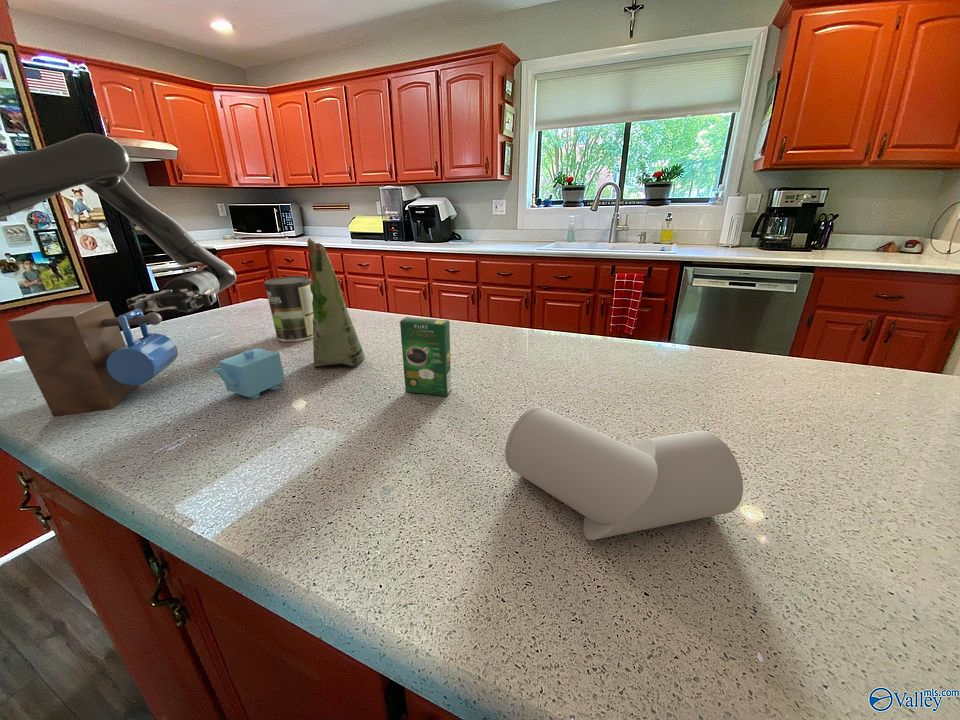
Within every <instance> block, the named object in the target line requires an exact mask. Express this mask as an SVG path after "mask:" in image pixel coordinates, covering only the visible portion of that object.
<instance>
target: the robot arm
mask: <svg viewBox="0 0 960 720" xmlns="http://www.w3.org/2000/svg"><path fill="white" fill-rule="evenodd" d="M129 169H130V156H129V154H128V151H127V150H126V149H125V147H123V146H122V144H120V143H119V142H118V141H116V140H114V139H113V138H111V137H109V136H107V135H104V134H99V133H93V132H90V133H89V132H86V133H81V134H78V135H75V136H73V137H70V138H67V139H65V140H62V141H59V142H57V143H53V144H51V145H48V146H45V147H42V148H39V149H34V150H30V151H26V152H25V151H24V152H18V153H12V154H6V155H1V156H0V219H4V218H7V217H11V216H14V215H15V214H18V213H20V212H23V211H26V210H28V209H30V208H33V207H35V206H36V205H38V204H41V203H42V202H44V201H47V200H48V199H50V198H52V197H54V196H56V195H58V194H59V193H62V192H64V191H66V190H69V189H71V188H75V187H78V186H82V185H84V186H86V187H87V188H88V189H89V190H91V191H92V192H94V193H95V194H97V196H99V197H100V198H102V199H103V200H104V201H105V202H107V203H108V204H109V205H110V206H112V207H113V208H115V209H116V210H117V211H118V212H120V213H121V214H122V215H124V216H125V217H126V218H127V219H129V220H130V221H131V222H132V223H133V224H134V225H135V226H137V228H139V229H140V230H141V231H143V233H145V234H146V235H147V236H148V237H149V238H150V239H151V240H152V241H153V242H154V243H155V244H156V245H157V246H158V247H159V248H160V249H161V250H163V252H164V253H166V254H167V256H169V257H170V258H171V259H172V260H173V261H174V262H175V263H176V264H178V265H180V266H187V265H190V264H193V263H200V264H202V265H205V266H202V267H201V268H200V269H198V270H194V271H192V272H190V273H189V272H188V273H184V274H182V275H180V276H179V275H178V276H177V277H174V278H173V279H170V280H169V281H167V282H166V283H165V284H164V286H163V287H162V290H161V291H160V292H159V291H158V292H155V293H149V294H147V293H141V294H138V295H136V296H133V297H130V298H128V299H126V303H127V309H128V312H130V311H133V310H135V309H141V310H142V313H143V314H145V313H146V312H151V311H152V312H161V311H166V310H175V311H177V312H181V313H190V312H191V313H192V312H194V311H197V310H199V309H200V308H201V307H203V306H204V307H207V308H208V307H211V306H213V304H215V303H216V302H217V301H218V299H217V294H219V293H221V292H222V291H224V290H226V289H227V288H229V287H230V286H232V285H234V284H235V283H236V281H237V274H236V272H235V270H234V268H232V266H231V265H229V264H228V263H227V262H225V261H223V259H221V258H219V257H218V256H216V255H214V254H213V253H212V252H211V251H208V250H207V249H205V248H204V247H203V246H202V245H201V244H200V243H199V242H198V241H196V240H195V238H194V237H193V236H191V234H190V233H189V232H188V231H187V230H186V229H185V228H184V227H183V226H182V225H181V224H180V223H178V222H177V221H176V220H175V219H174V218H172V217H171V216H169V215H168V214H166V213H165V212H163V211H162V210H161V209H159V208H157V207H156V206H154V205H153V204H151V203H150V202H149V201H148V200H146V199H145V198H144V197H143V196H141V195H140V194H139V193H138V192H137V190H135V188H133V186H131V185H130V183H129V182H128V181H127V179H126V178H125V176H126V175H127V173H128V171H129Z"/></svg>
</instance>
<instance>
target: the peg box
mask: <svg viewBox="0 0 960 720" xmlns="http://www.w3.org/2000/svg"><path fill="white" fill-rule="evenodd" d="M162 320H163V317H162V315H160V313H158V312H156V311H152V312H151V311H150V312H149V313H147V314H143V316H135V317H133V318H131V319H128V320H127V321H128V324H129V326H133V325H139V324H145V323H146V324H148V325H152V326H157V325H160V324H161V323H162ZM6 324H7V326H8V328H9V329H10V331H11V334H12V336H13V338H14V340H15V342H16V344H17V346H18V348H19V350H20V351H21V354H22V356H23V357H24V360H25V362H26V364H27V366H28V369H29V370H30V373H31V374H32V377H33V378H34V380H35V382H36V385H37V386H38V389H39V391H40V393H41V394H42V397H43V399H44V400H45V403H46V405H47V407H48V408H49V411H50V413H51V415H52V417H59V416H65V415H66V416H67V415H74V414H81V413H82V414H83V413H90V412H98V411H104V410H112V409H113V408H115V407H116V406H117V405H119V403H121V401H123V400H124V399H125V398H126V397H127V396H128V395H130V394H131V393H132V392H134V390H136V389H137V388H138V387H139V386H140V385H126V384H123V383H120V382H118V381H117V380H115V379H114V378H113V377H112V376H111V375H110V374H109V372H108V370H107V360H108V358H109V356H110V355H111V354H112V353H113V352H115V351H117V350H118V349H120V348H122V347H124V346H126V345H127V343H126V341H125V338H124V336H123V334H122V332H121V331H122V330H121V329H120V327H121V325H120V322H119V320H118V317H116V316H115V312H114V311H113V308H112V306H111V303H110V301H107V300H106V301H94V302H81V303H68V304H67V303H65V304H52V305H49V306H46V307H44V308H40V309H38V310H35V311H33V312H30V313H27V314H24V315H21V316H17V317H16V318H13V319H10V320H7V321H6Z"/></svg>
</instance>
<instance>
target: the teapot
mask: <svg viewBox="0 0 960 720" xmlns="http://www.w3.org/2000/svg"><path fill="white" fill-rule="evenodd" d="M218 364H219V367H214V368H211V369H209V370H208V372H212V373H216V374H218V375H219V376H220V379H221V380H222V381H223V382H224V385H225V389H226V391H228V392H230V393H234V394H237V395H240V396H244V397H247V398H250V399H252V400H253V399H258V398H260V396H261V393H262V392H264V391H266V390H270V391H274V390H277V389H279V386H278V385H279V384H282V383H284V382H286V377H285V374H284V369H283V364H282V359H281V355H280V353H279V352H276V351H275V350H267V349H262V348H258V347H256V348H253V349H248V350H244V351H243V352H242V353H239V354H236V355H233V356H230V357H228V358H225V359H222V360H219V361H218Z"/></svg>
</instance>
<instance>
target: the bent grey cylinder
mask: <svg viewBox="0 0 960 720" xmlns="http://www.w3.org/2000/svg"><path fill="white" fill-rule="evenodd" d="M504 459H505V464H506V465H507V467H508V468H509V469H510V470H511V471H513V472H514V473H516V474H517V475H519V476H520V477H522V478H524V479H525V480H527V481H528V482H530V483H531V484H533V485H535V486H536V487H538V488H540V489H541V490H543V491H544V492H546V493H547V494H548V495H551V496H552V497H554V498H555V499H557V500H559V501H560V502H562V503H563V504H565V505H567V506H568V507H569V508H571V509H573V510H574V511H576V512H577V513H579V514H580V515H582V516H583V517H584V519H583V525H582V526H583V527H582V529H583V535H584V537H585V539H587V540H590V541H594V540H599V539H603V538H604V539H605V538H609V537H615V536H619V535H624V534H625V535H626V534H629V533H635V532H639V531H644V530H650V529H655V528H660V527H665V526H669V525H675V524H681V523H685V522H689V521H696V520H700V519H705V518H709V517H714V516H719V515H725V514H730V513H732V512H733V511H735V510H736V509H738V507H739V505H740V504H741V501H742V498H743V494H744V480H743V475H742V471H741V467H740V465H739V463H738V461H737V459H736V457H735V455H734V453H733V452H732V450H731V449H730V448H729V446H728V445H727V444H726V443H725V442H724V441H723V440H722V439H721V438H720V437H718V436H716V435H715V434H714V433H711V432H709V431H705V430H696V431H695V430H694V431H688V432H681V433H676V434H669V435H661V436H656V437H649V438H644V439H641V440H639V441H637V442H636V443H634V444H632V445H628V444H626V443H624V442H621V441H619V440H617V439H615V438H613V437H610V436H608V435H607V434H604V433H601V432H599V431H597V430H594V429H593V428H590V427H589V426H585V425H584V424H581V423H579V422H577V421H574V420H572V419H570V418H568V417H566V416H563V415H562V414H559V413H557V412H555V411H552V410H550V409H549V408H546V407H543V406H533V407H531V408H529V409H527V410H526V411H524V413H522V414H521V416H519V418H517V420H516V421H515V422H514V424H513V426H512V428H511V429H510V432H509V434H508V437H507V438H506V443H505V449H504Z"/></svg>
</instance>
